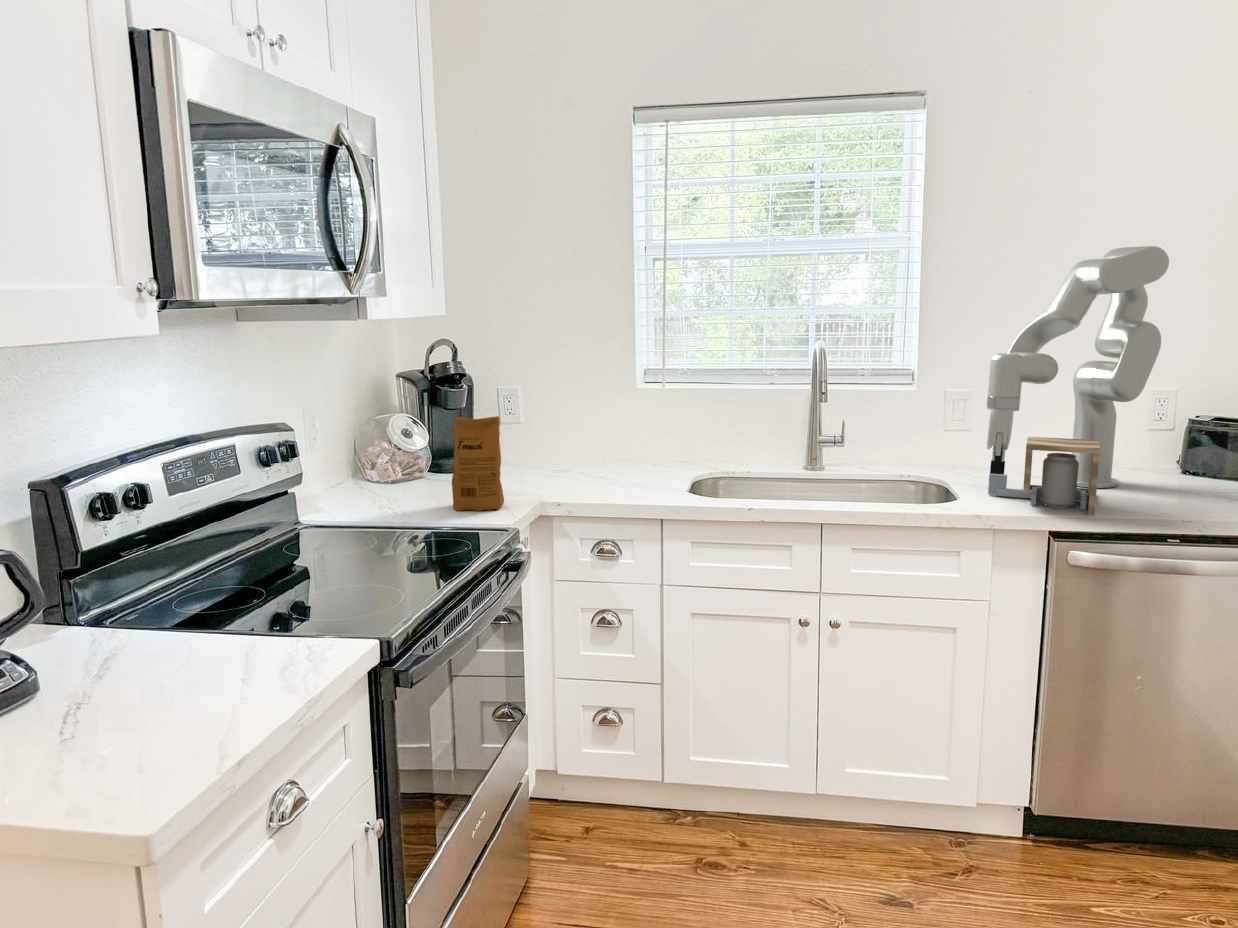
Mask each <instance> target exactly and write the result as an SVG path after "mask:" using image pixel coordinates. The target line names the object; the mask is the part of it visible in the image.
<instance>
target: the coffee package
mask: <svg viewBox="0 0 1238 928" xmlns="http://www.w3.org/2000/svg"><path fill="white" fill-rule="evenodd" d="M500 426H501V421H500V416H499V415H497V416H490V417H489V416H488V417H480V418H469V417H468V418H467V417H460V416H459V417H458V416H455V418H454V430H453V431H454V452H453V463H454V465H453V467H454V469H453V473H452V479H451V487H452V489H451V490H452V491H451V492H452V503H453V504H452V508H453V510H454V511H455V510H456V511H455V512H462V511H463V510H464V511H474V510H475V512H483V511H482V510H489V511H494V510H493V509H497V510H500V509H501V508H502V506H503V505H504V503H505V497H504V492H503V491H504V490H503V487H502V483H501V482H502V481H501V465H502V464H501V463H502V450H501V443H500V434H501V432H500ZM477 510H478V511H477ZM479 510H480V511H479Z"/></svg>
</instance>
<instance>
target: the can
mask: <svg viewBox="0 0 1238 928" xmlns="http://www.w3.org/2000/svg"><path fill="white" fill-rule="evenodd" d="M1046 456H1047V457H1046V458H1045V459H1043V463H1042V477H1041V486H1042V488H1041V498H1040V501H1041V502H1042V504H1043V505H1045V504H1046V505H1045V506H1047V505H1048V507H1051V506H1052V507H1051V508H1053V507H1054V508H1061V507H1065V508H1070V507H1072V506H1073V505H1075V504H1076V502H1077V501H1076V493H1077V488H1078V486H1077V481H1078V468H1079V462H1078V461H1077V460H1076V459H1075V458H1076V455H1073V454H1072V453H1068V452H1050V453H1047V454H1046Z"/></svg>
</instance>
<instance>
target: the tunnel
mask: <svg viewBox="0 0 1238 928" xmlns="http://www.w3.org/2000/svg"><path fill="white" fill-rule="evenodd" d="M1025 444H1026V447H1025V461H1024V475H1023V488H1022V489H1023V495H1026V496H1029V490H1030V485H1031V480H1032V479H1031V477H1032V465H1033V463H1032V462H1033V451H1042V452H1043V451H1044V452H1046V451H1047V452H1059V453H1072V452H1079V453H1091V461H1090V474H1089V486H1088V487H1087V489H1088V499H1087V501H1086V508H1087V512H1088V513H1087V514H1088V516H1095V512H1096V503H1097V499H1096V498H1097V489H1098V488H1097V479H1098V466H1099V454H1100V446H1099V442H1098V440H1085V439H1073V438H1061V437H1041V436H1040V437H1039V436H1027V441H1026V443H1025Z"/></svg>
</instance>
